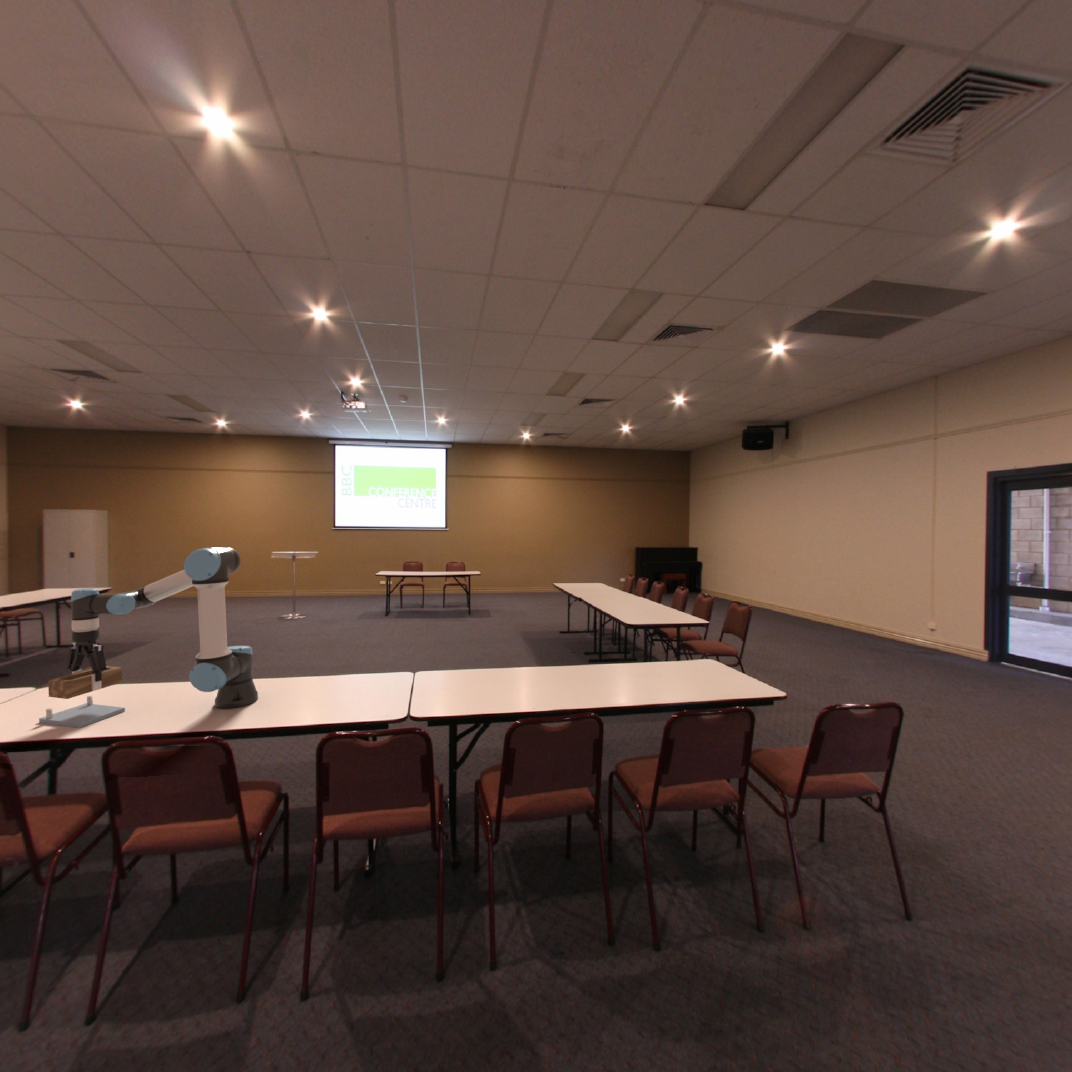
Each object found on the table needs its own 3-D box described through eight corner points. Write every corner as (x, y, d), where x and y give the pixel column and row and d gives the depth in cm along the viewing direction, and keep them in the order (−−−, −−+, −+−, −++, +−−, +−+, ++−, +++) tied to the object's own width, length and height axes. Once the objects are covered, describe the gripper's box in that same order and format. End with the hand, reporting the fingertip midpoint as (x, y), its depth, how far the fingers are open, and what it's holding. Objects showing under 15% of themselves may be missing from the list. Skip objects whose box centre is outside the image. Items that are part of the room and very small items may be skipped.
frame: (121, 682, 185) (121, 667, 185) (67, 699, 167) (66, 682, 167) (104, 680, 187) (104, 665, 187) (48, 696, 169) (48, 680, 169)
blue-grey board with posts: (124, 711, 183) (124, 698, 183) (79, 727, 169) (79, 714, 168) (86, 706, 188) (85, 694, 188) (39, 722, 173) (38, 709, 173)
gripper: (118, 629, 178) (119, 687, 178) (75, 625, 183) (77, 682, 183) (96, 633, 170) (97, 694, 171) (52, 630, 175) (53, 689, 176)
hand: (86, 688), depth 177 cm, fingers closed on frame, 9 cm apart
